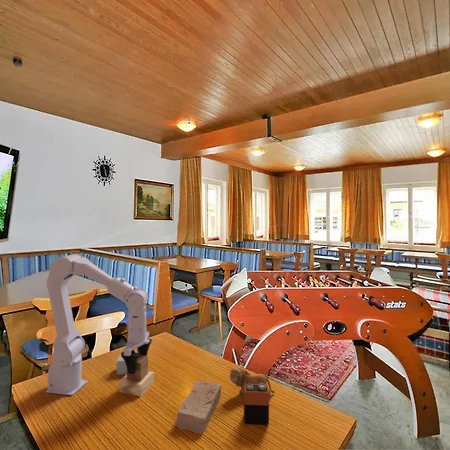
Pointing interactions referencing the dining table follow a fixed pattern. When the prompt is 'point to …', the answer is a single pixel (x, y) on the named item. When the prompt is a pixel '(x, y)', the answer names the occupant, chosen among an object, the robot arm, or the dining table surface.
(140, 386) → the base block
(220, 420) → the dining table surface
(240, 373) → the lion figurine
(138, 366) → the walnut block
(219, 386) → the brick
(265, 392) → the battery
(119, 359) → the slate block
